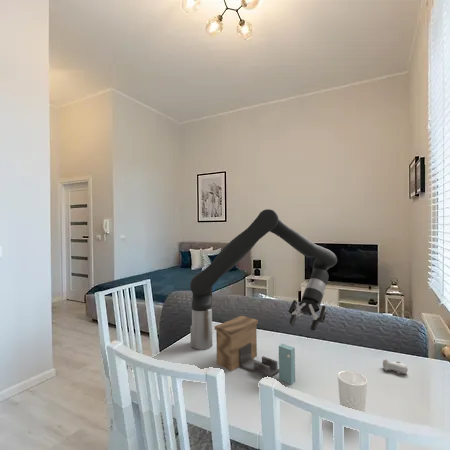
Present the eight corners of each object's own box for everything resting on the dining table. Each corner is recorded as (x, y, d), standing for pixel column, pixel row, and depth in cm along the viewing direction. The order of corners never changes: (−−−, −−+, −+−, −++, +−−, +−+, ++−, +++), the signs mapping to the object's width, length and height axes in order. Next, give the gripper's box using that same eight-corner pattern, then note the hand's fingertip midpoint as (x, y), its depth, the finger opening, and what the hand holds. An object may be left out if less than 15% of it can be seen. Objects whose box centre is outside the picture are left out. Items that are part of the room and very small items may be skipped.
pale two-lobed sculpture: (407, 375, 106) (407, 376, 102) (383, 368, 110) (381, 370, 106) (407, 362, 107) (407, 364, 103) (383, 356, 111) (382, 357, 107)
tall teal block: (277, 380, 101) (277, 346, 101) (282, 376, 104) (282, 343, 104) (290, 385, 98) (289, 351, 98) (295, 381, 101) (294, 347, 100)
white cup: (365, 405, 87) (365, 373, 87) (369, 422, 79) (368, 387, 79) (337, 400, 89) (337, 369, 89) (338, 417, 82) (338, 382, 82)
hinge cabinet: (215, 364, 114) (214, 326, 113) (241, 349, 126) (241, 315, 126) (261, 385, 98) (260, 341, 98) (286, 366, 111) (286, 327, 111)
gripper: (295, 284, 121) (281, 318, 112) (328, 289, 111) (316, 327, 103) (301, 294, 125) (288, 328, 116) (333, 300, 115) (322, 337, 107)
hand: (301, 327), depth 110 cm, fingers open, 8 cm apart
